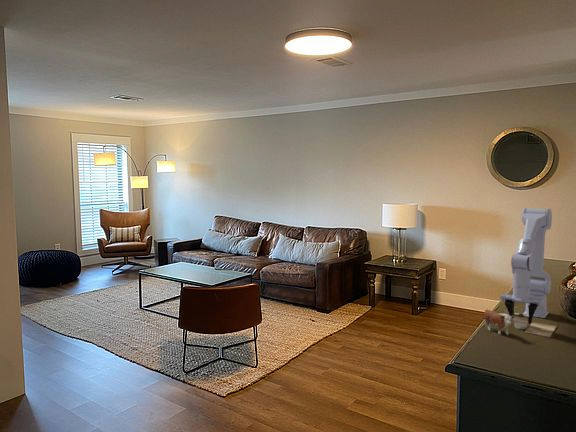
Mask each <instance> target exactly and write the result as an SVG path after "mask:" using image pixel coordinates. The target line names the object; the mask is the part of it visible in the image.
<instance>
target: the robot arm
mask: <svg viewBox="0 0 576 432" xmlns="http://www.w3.org/2000/svg"><path fill="white" fill-rule="evenodd" d="M552 220H553V213H552V210H551V208H527V207H525V208H523V210H522V211H521V221H522V223H523V225H524V232H523V238H521V239H519V241H518V244H517V247H516V251H515V254H513V255H512V256H511V260H510V263H511V264H510V266H511V273H512V278H513V279H512V294H505V293H504V294H503V293H502V294H499V301H504V305H505V307H506V310H507V312H508V315H510V316H512V315H513V314H514V313H515V310H514V309H515V303H522V304H525V310H524V312H523V313H522V314H525V315H529V319H528V324H529V325H531V324H532V323H533V317H535V318H543V319H545V318H546V317H547V315H548V314H549V313H550V311H547V295H548V294H550V292H551V290H552V281H551V275H550V274H549V273H548V272H546V270H544V261H545V244H546V242H545V241H546V232H547V231H548V230H551V227H552ZM513 321H514V320H511V322H513Z"/></svg>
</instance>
